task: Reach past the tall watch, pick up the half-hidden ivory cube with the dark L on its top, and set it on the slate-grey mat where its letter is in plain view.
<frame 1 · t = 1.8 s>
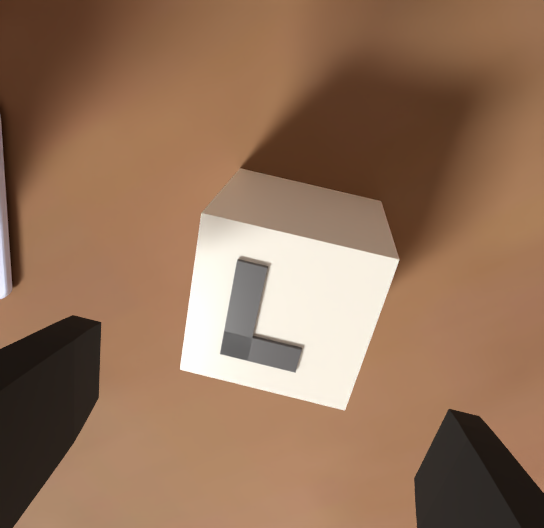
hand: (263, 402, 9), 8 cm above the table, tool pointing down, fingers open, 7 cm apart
letter cube: (294, 248, 17), on the table
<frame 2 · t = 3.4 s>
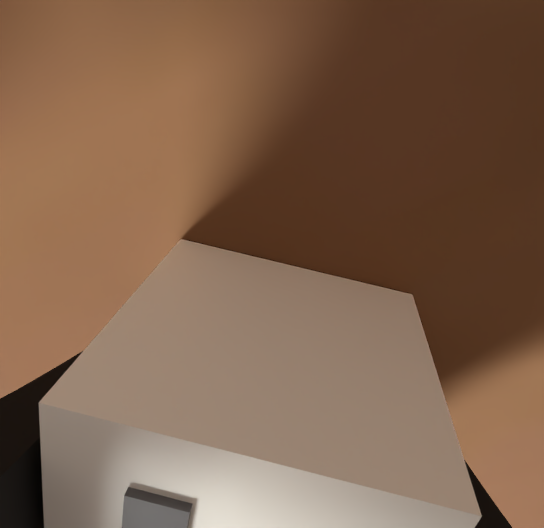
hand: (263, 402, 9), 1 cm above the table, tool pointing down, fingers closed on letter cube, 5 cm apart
letter cube: (272, 359, 10), on the table, touching gripper
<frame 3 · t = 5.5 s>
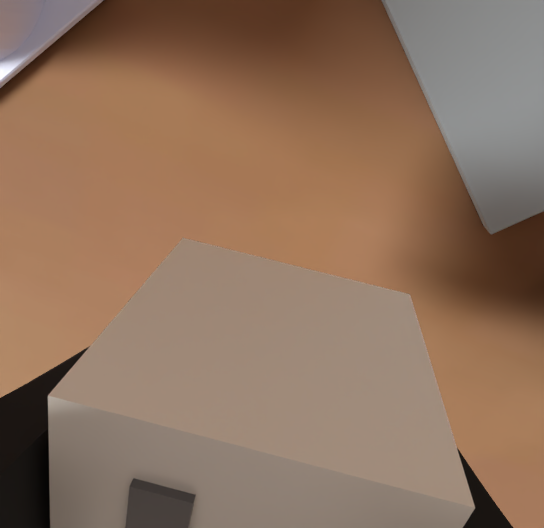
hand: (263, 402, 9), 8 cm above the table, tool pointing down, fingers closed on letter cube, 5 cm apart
letter cube: (271, 357, 11), point 7 cm above the table, touching gripper
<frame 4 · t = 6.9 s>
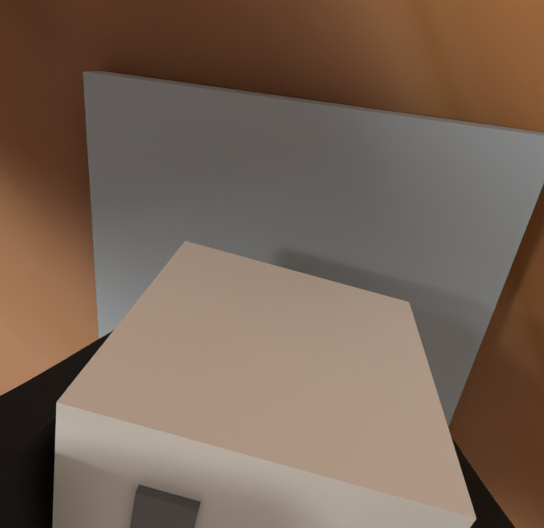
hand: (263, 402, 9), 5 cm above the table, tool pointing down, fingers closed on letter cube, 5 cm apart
letter cube: (269, 361, 11), point 3 cm above the table, touching gripper
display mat: (285, 295, 13), on the table
when the fingers open (4 cm above the table, at t = 8.0 s): letter cube drops 1 cm, resting on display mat.
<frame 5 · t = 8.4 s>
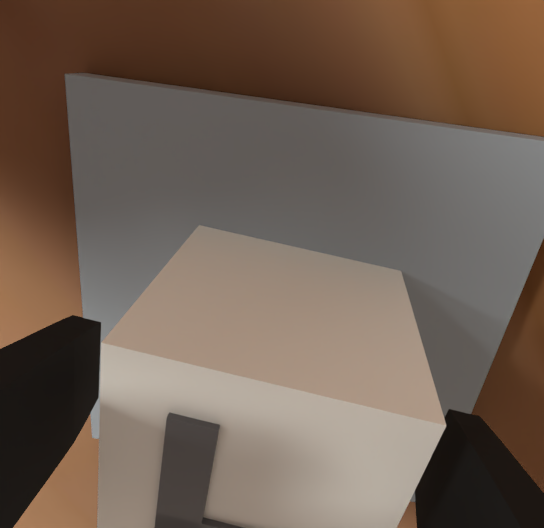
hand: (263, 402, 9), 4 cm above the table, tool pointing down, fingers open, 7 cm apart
letter cube: (279, 332, 12), point 1 cm above the table, touching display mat
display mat: (283, 310, 13), on the table
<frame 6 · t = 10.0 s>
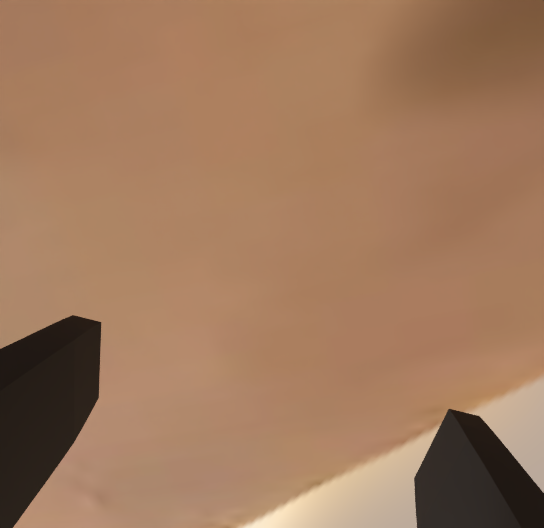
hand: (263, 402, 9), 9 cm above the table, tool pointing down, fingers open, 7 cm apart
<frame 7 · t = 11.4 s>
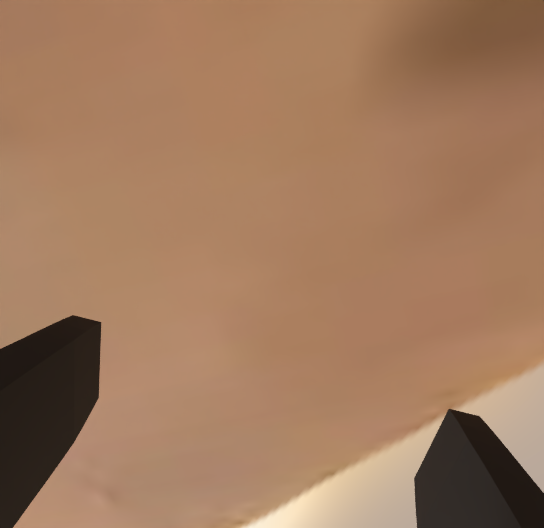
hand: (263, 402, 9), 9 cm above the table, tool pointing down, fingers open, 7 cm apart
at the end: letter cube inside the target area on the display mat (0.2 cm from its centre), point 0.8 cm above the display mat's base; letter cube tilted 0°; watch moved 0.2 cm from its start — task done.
